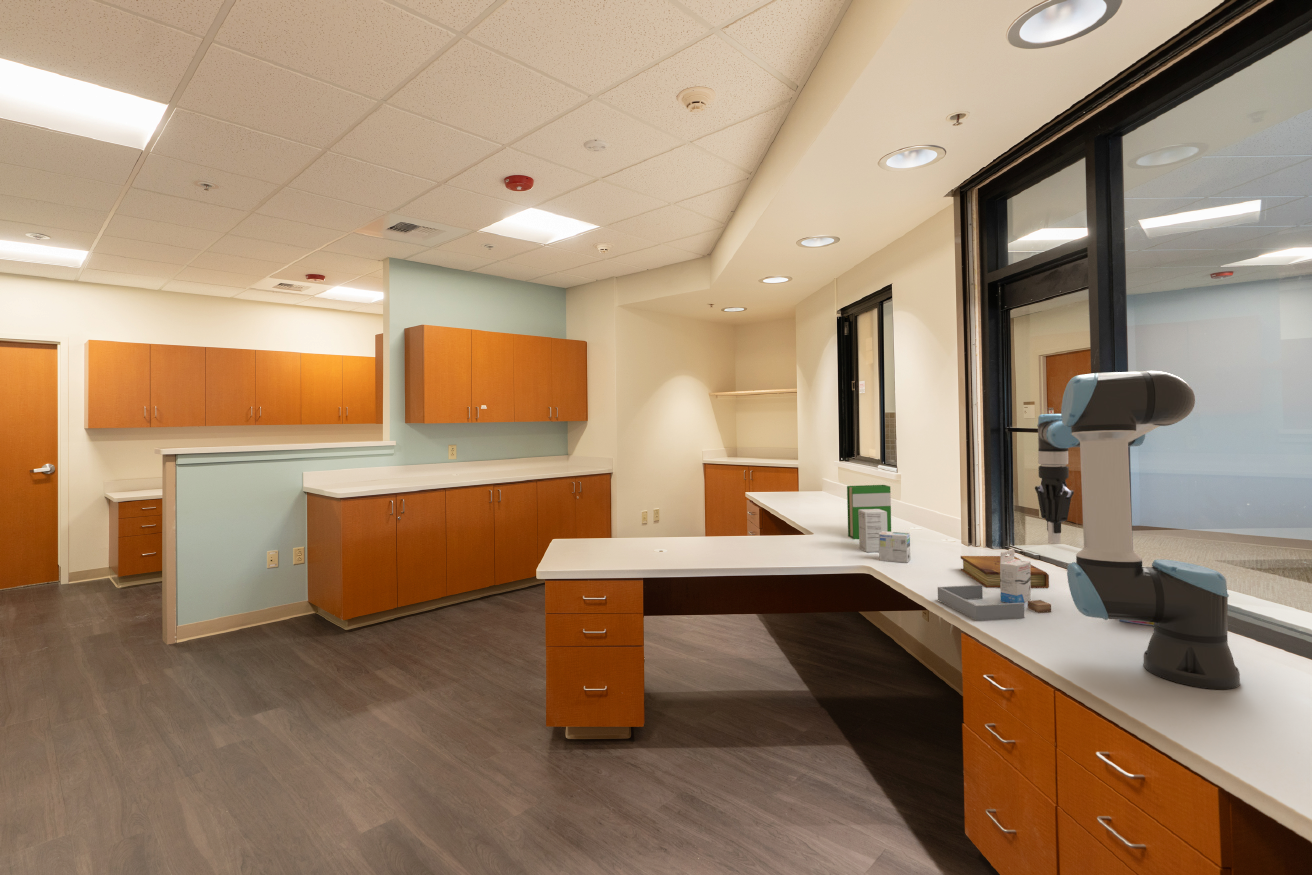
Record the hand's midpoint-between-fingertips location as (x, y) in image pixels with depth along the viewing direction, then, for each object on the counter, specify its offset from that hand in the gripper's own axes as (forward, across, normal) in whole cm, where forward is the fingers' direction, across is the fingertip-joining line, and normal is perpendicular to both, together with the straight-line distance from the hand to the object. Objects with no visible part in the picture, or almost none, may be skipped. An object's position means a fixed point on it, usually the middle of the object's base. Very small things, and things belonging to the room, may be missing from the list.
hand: (1054, 543), depth 178 cm
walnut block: (+17, -10, +12) cm, 23 cm away
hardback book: (+18, +100, +13) cm, 103 cm away
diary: (+18, +23, +1) cm, 29 cm away
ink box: (+17, 0, +13) cm, 21 cm away
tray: (+17, -5, +27) cm, 32 cm away
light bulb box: (+17, +55, +23) cm, 62 cm away
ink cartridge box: (+17, -23, -6) cm, 29 cm away
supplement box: (+17, +74, +23) cm, 80 cm away
